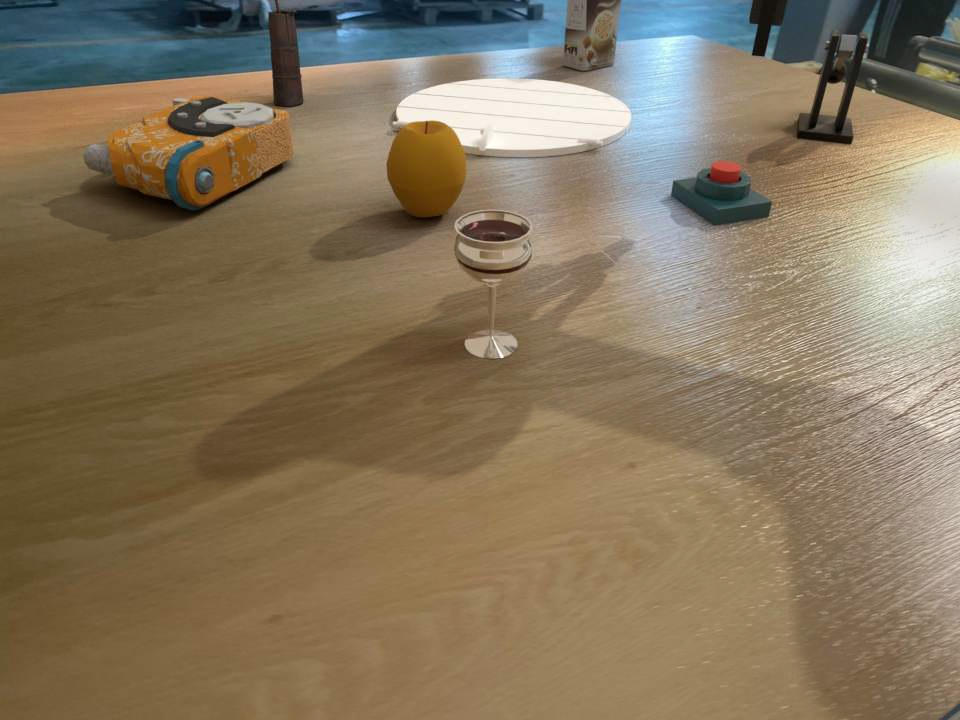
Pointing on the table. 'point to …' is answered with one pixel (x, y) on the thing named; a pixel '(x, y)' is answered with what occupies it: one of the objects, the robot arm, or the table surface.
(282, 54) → the butter churn
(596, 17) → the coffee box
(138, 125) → the device
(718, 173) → the button
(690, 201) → the panel
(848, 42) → the lever
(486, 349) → the wineglass
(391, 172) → the apple
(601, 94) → the lazy susan
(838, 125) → the bracket
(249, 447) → the table surface
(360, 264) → the table surface
